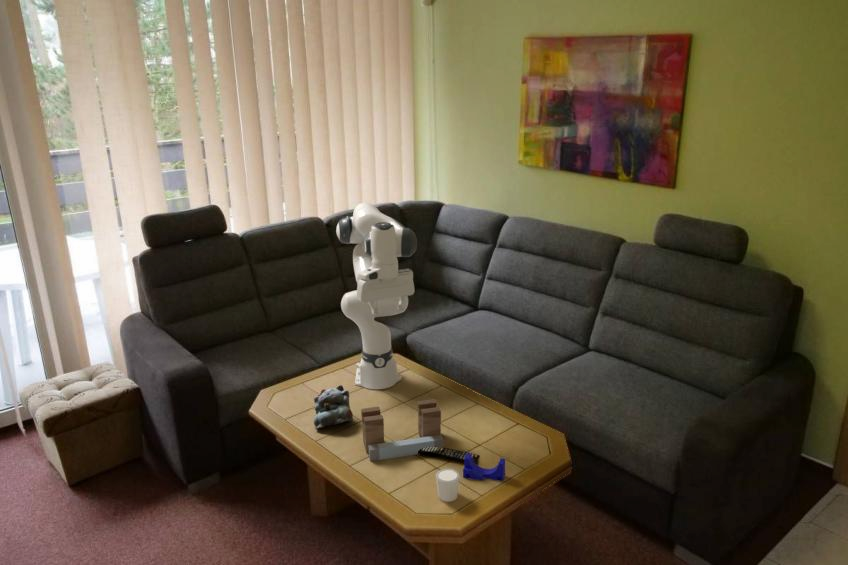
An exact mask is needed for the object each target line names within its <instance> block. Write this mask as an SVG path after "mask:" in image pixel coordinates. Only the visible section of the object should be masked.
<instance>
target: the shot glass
mask: <svg viewBox="0 0 848 565" xmlns="http://www.w3.org/2000/svg"><path fill="white" fill-rule="evenodd" d="M435 481H436V488H437V490H436V491H437V497H438V499H439V500H441V501H442V502H446V503H450V502H454V501H456V500H457V498H458V494H459V486H460V485H459V484H460V473H459V471H457V470H455V469H452V468H442V469H440V470H438V471H437V472H436V473H435Z"/></svg>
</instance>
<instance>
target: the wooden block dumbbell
mask: <svg viewBox="0 0 848 565" xmlns="http://www.w3.org/2000/svg"><path fill="white" fill-rule="evenodd" d="M416 404H417V406H416V408H417V425H418V426H417V427H418V436H419V438H421V437H428V436H435V435H441V436H442V434H441V432H442V431H441V430H442V427H441V426H442V425H441V422H442V410H441V408H440V406H437V401H436V399H434V398H433V399H424V400H418V401H417V402H416ZM360 414H361V415H360V416H361V425H362V426H361V427H362V429H361V430H362V442H363V446H364V449H365V453H366V454H367V453H368V454H369V449H368V445H374V444H381V443H385V432H384V431H385V427H384V426H385V423H384V422H385V420H384V415H383V414H381V408H380V406H372V407H364V408H361V409H360Z"/></svg>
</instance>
